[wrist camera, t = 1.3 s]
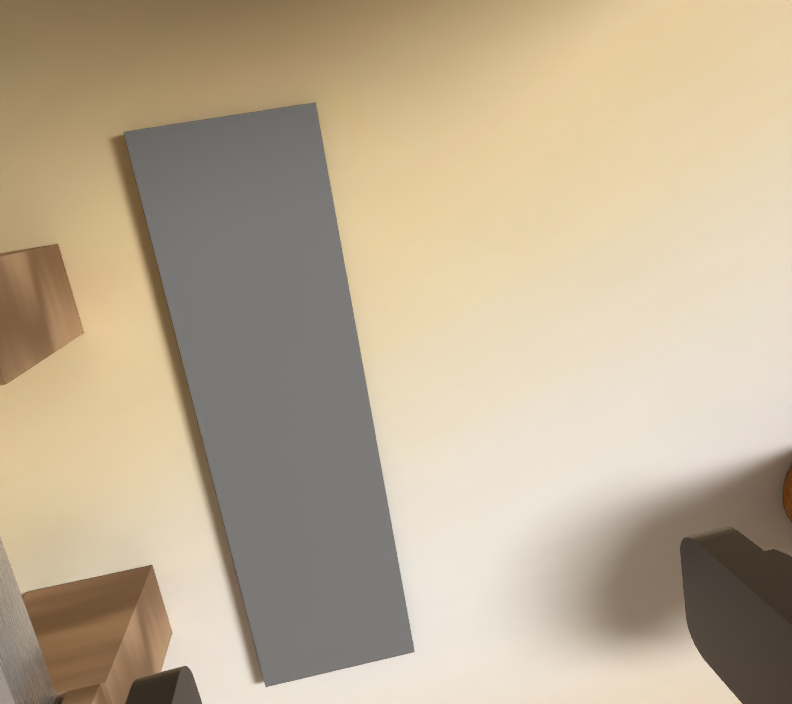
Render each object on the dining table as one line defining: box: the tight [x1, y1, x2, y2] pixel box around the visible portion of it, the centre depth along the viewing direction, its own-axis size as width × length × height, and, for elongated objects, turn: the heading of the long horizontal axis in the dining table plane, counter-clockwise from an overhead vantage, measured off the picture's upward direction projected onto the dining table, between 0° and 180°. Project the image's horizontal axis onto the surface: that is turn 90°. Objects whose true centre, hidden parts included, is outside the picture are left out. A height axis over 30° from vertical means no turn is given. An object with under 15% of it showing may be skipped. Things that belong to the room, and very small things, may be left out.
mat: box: [124, 103, 414, 687], centre depth 31 cm, size 28×8×1 cm, turn 9°
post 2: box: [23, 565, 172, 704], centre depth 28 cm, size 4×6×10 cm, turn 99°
